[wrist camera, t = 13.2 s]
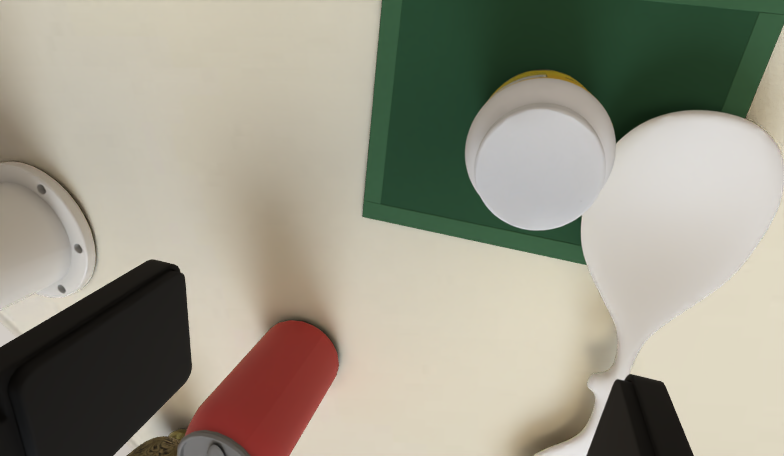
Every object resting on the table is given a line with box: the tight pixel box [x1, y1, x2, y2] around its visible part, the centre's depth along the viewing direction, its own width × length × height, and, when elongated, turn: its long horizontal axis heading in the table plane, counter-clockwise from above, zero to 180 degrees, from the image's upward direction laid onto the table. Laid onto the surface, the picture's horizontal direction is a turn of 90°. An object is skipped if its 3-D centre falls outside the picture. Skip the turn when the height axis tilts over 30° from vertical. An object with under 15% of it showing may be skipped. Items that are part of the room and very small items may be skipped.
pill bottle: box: [465, 69, 616, 230], centre depth 22 cm, size 6×6×11 cm
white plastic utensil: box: [533, 110, 784, 456], centre depth 30 cm, size 9×32×4 cm, turn 174°
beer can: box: [177, 320, 339, 456], centre depth 33 cm, size 7×7×12 cm
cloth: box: [362, 0, 784, 265], centre depth 27 cm, size 20×16×1 cm
